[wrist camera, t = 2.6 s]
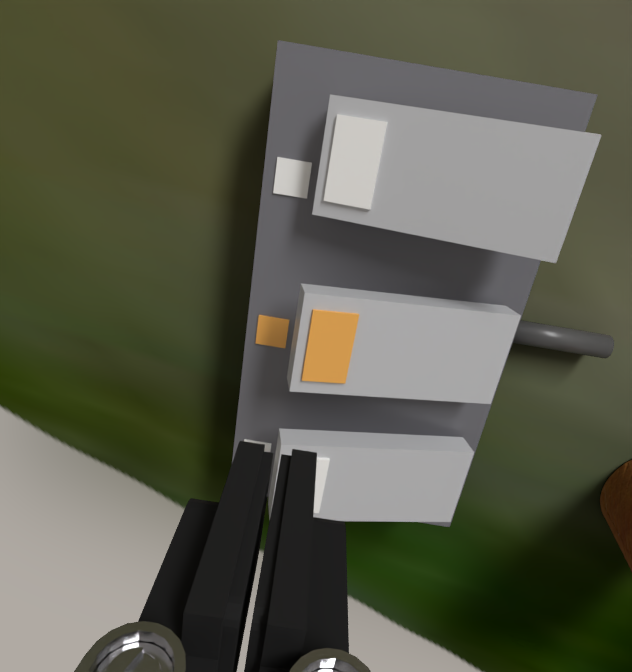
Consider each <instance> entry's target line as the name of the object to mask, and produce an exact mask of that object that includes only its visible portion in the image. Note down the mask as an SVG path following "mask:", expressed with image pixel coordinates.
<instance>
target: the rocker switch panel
mask: <svg viewBox="0 0 632 672" xmlns="http://www.w3.org/2000/svg"><path fill="white" fill-rule="evenodd" d="M330 94H331V95H338V96H344V97H351V98H358V99H365V100H371V101H378V102H385V103H392V104H398V105H405V106H412V107H419V108H425V109H432V110H439V111H445V112H452V113H459V114H466V115H472V116H479V117H486V118H493V119H499V120H506V121H513V122H519V123H526V124H533V125H540V126H546V127H553V128H560V129H567V130H573V131H580V132H585V130H586V127H587V124H588V121H589V118H590V115H591V113H592V110H593V107H594V104H595V101H596V98H597V95H596V94H590V93H585V92H579V91H573V90H567V89H561V88H555V87H549V86H543V85H538V84H532V83H526V82H520V81H514V80H508V79H502V78H497V77H491V76H485V75H479V74H473V73H467V72H461V71H455V70H450V69H444V68H438V67H432V66H426V65H420V64H414V63H408V62H403V61H397V60H391V59H385V58H379V57H373V56H367V55H362V54H356V53H350V52H344V51H338V50H332V49H326V48H320V47H315V46H309V45H303V44H297V43H291V42H285V41H279V40H278V44H277V53H276V62H275V71H274V81H273V90H272V99H271V108H270V118H269V127H268V136H267V145H266V154H265V164H264V173H263V182H262V191H261V200H260V210H259V219H258V228H257V237H256V246H255V256H254V265H253V274H252V283H251V292H250V302H249V311H248V320H247V329H246V338H245V348H244V357H243V366H242V375H241V384H240V394H239V403H238V412H237V421H236V431H235V440H234V449H233V458H232V462H233V459H234V456H235V453H236V450H237V447H238V444H239V442H240V441H245V442H252V443H258V444H265V450H264V451H265V452H271V453H273V461H272V467H271V474H270V481H269V488H268V494H267V497H269V493H270V486H271V480H272V473H273V466H274V460H275V453H276V446H277V440H278V433H279V428H281V429H302V430H323V431H344V432H365V433H386V434H408V435H429V436H450V437H463V438H464V439H465V440H466V442H467V443H468V445H469V446H470V447H471V449H472V450H473V451H474V454H475V451H476V448H477V445H478V442H479V439H480V437H481V434H482V431H483V428H484V425H485V422H486V419H487V416H488V413H489V410H490V407H491V404H492V402H493V399H494V396H495V393H496V390H497V387H498V384H499V382H498V384H497V387H496V390H495V393H494V396H493V399H492V402H491V404H481V403H465V402H449V401H433V400H418V399H402V398H386V397H370V396H354V395H338V394H322V393H307V392H291V391H289V386H288V381H287V373H288V366H289V359H290V353H291V346H292V339H293V333H294V326H295V319H296V313H297V306H298V299H299V293H300V286H301V283H302V284H311V285H320V286H330V287H339V288H348V289H357V290H366V291H375V292H385V293H394V294H403V295H412V296H421V297H430V298H440V299H449V300H458V301H467V302H476V303H485V304H495V305H504V306H507V307H509V308H510V309H512V310H513V311H515V312H516V313H518V314H519V315H521V317H522V314H523V311H524V308H525V305H526V302H527V299H528V296H529V294H530V291H531V288H532V285H533V282H534V279H535V276H536V273H537V270H538V267H539V264H540V261H541V260H537V259H532V258H527V257H522V256H517V255H512V254H507V253H502V252H497V251H492V250H487V249H482V248H477V247H472V246H467V245H462V244H457V243H453V242H448V241H443V240H438V239H433V238H428V237H423V236H418V235H413V234H408V233H403V232H398V231H393V230H388V229H383V228H378V227H373V226H368V225H363V224H358V223H353V222H348V221H343V220H338V219H333V218H328V217H323V216H318V215H313V214H312V212H313V205H314V198H315V192H316V185H317V178H318V172H319V165H320V159H321V152H322V145H323V139H324V132H325V125H326V119H327V112H328V105H329V99H330ZM521 317H520V320H519V323H518V326H517V329H516V332H515V335H514V338H513V341H512V343H517V344H523V345H529V346H535V347H541V348H547V349H553V350H558V351H564V352H570V353H576V354H582V355H588V356H594V357H600V358H607V357H609V356H610V355H611V353H612V351H613V348H614V340H613V338H612V337H611V336H610V335H605V334H599V333H593V332H587V331H581V330H575V329H569V328H563V327H557V326H551V325H545V324H539V323H533V322H528V321H522V320H521ZM511 346H512V344H511ZM511 346H510V349H511ZM510 349H509V352H510ZM509 352H508V355H509ZM508 355H507V358H508ZM507 358H506V361H507ZM506 361H505V364H506ZM505 364H504V366H505ZM503 369H504V367H503ZM502 372H503V370H502ZM501 375H502V373H501ZM500 378H501V376H500ZM499 381H500V379H499ZM473 457H474V455H473ZM472 460H473V458H472ZM471 463H472V461H471ZM471 463H470V466H471ZM470 466H469V469H470ZM469 469H468V472H469ZM468 472H467V474H468ZM466 477H467V475H466ZM465 480H466V478H465ZM464 483H465V481H464ZM463 486H464V484H463ZM462 489H463V487H462ZM461 492H462V490H461ZM460 495H461V493H460ZM459 498H460V496H459ZM458 501H459V499H458ZM458 501H457V504H458ZM457 504H456V507H457ZM456 507H455V509H456ZM454 512H455V510H454ZM453 515H454V513H453ZM452 518H453V516H452ZM451 521H452V519H451ZM422 523H428V524H434V525H440V526H446V527H450V524H451V522H422Z"/></svg>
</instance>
